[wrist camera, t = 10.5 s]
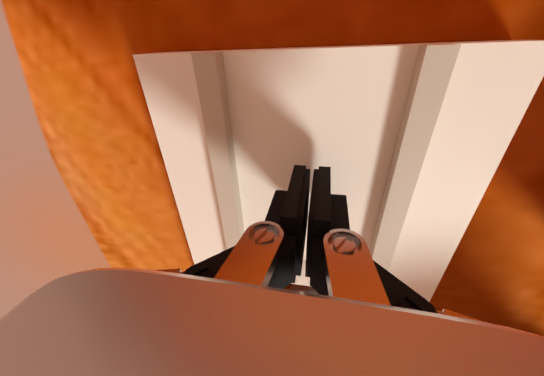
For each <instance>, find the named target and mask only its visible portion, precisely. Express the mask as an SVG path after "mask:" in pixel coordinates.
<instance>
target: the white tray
mask: <svg viewBox="0 0 544 376" xmlns="http://www.w3.org/2000/svg"><path fill="white" fill-rule="evenodd" d="M133 58H134V61H135V65H136V68H137V72H138V75H139V78H140V82H141V85H142V88H143V92H144V95H145V99H146V102H147V105H148V109H149V112H150V116H151V119H152V122H153V126H154V129H155V133H156V136H157V139H158V143H159V146H160V150H161V153H162V156H163V160H164V163H165V167H166V170H167V173H168V177H169V180H170V184H171V187H172V190H173V194H174V197H175V200H176V204H177V207H178V211H179V214H180V217H181V221H182V224H183V228H184V231H185V234H186V238H187V241H188V245H189V248H190V251H191V255H192V258H193V262H194V265H195V264H197V263H199V262H201V261H203V260H206V259H208V258H210V257H212V256H214V255H216V254H218V253H220V252H223V251H225V250H227V249H229V248H231V247H233V246H235V245H236V244H237V243H238V241H239V240H240V238H241V237H242V235H243V234H244V232H245V231H246V229H247V228H248V227H249V226H250V225H252V224H254V223H257V222H260V221H265V218H266V216H267V213H268V210H269V207H270V204H271V201H272V199H273V196H274V193H275V191H276V190H285V191H287V190H288V186H289V183H290V179H291V175H292V172H293V168H294V165H305V166H306V169H310V186H309V206H310V198H311V189H312V181H313V173H314V169H319V166H324V167H331V194H338V195H346V197H347V206H348V216H349V225H350V230H351V231H354V232H356V233H358V234H359V235H360V236H362V237H363V238H364V240H365V242H366V244H367V246H368V249H369V251H370V254H371V256H372V259H373V260H374V261H375V262H376V263H378V264H379V265H380V266H382V267H383V268H384V269H386V270H387V271H388V272H390V273H391V274H393V275H394V276H395V277H397V278H398V279H399V280H401V281H402V282H403V283H405V284H406V285H407V286H409V287H410V288H411V289H413V290H414V291H415V292H417V293H418V294H419V295H421V296H422V297H423V298H425V299H426V300H427V301H428V302H430V300H431V298H432V296H433V294H434V292H435V290H436V288H437V286H438V284H439V282H440V280H441V278H442V276H443V274H444V272H445V270H446V268H447V266H448V264H449V262H450V260H451V258H452V256H453V254H454V252H455V250H456V248H457V246H458V244H459V242H460V241H461V239H462V237H463V235H464V233H465V231H466V229H467V227H468V225H469V223H470V221H471V219H472V217H473V215H474V213H475V211H476V209H477V207H478V205H479V203H480V201H481V199H482V197H483V195H484V193H485V191H486V189H487V187H488V185H489V183H490V181H491V179H492V177H493V175H494V173H495V171H496V169H497V167H498V165H499V163H500V161H501V159H502V157H503V155H504V153H505V152H506V150H507V148H508V146H509V144H510V142H511V140H512V138H513V136H514V134H515V132H516V130H517V128H518V126H519V124H520V122H521V120H522V118H523V116H524V114H525V112H526V110H527V108H528V106H529V104H530V102H531V100H532V98H533V96H534V94H535V92H536V90H537V88H538V86H539V84H540V82H541V80H542V78H543V76H544V40H495V41H466V42H438V43H409V44H381V45H353V46H324V47H296V48H267V49H239V50H211V51H182V52H159V53H147V54H134V55H133ZM309 206H308V214H309ZM307 227H308V221H307ZM306 247H307V230H306V238H305V246H304V255H303V263H302V271H301V276H297V275H296V279H295V283H291V284H297V285H304V286H310V277H305V267H306Z"/></svg>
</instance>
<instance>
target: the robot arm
mask: <svg viewBox="0 0 544 376" xmlns="http://www.w3.org/2000/svg"><path fill="white" fill-rule="evenodd" d="M309 186H310V169H306V166H305V165H294V168H293V172H292V175H291V179H290V183H289V186H288V190H287V191H285V190H276V191H275V193H274V196H273V199H272V201H271V204H270V207H269V210H268V213H267V216H266V218H265V221H260V222H257V223H254V224H252V225H250V226H249V227H248V228H247V229H246V231H245V232H244V234H243V235H242V237H241V238H240V240H239V241H238V243H237V244H236V245H235V246H233V247H231V248H229V249H227V250H225V251H223V252H220V253H218V254H216V255H214V256H212V257H210V258H208V259H206V260H203V261H201V262H199V263H197V264H195V265H193V266H191V267H190V268H188V269H187V270H186V271H185V272H182V271H181V269H167V270H148V269H137V268H99V269H92V270H87V271H81V272H76V273H73V274H69V275H66V276H63V277H60V278H57V279H55V280H53V281H51V282H49V283H48V284H46V285H44V286H43V287H41V288H40V289H38V290H37V291H35V292H34V293H33V294H31V295H30V296H28V297H27V298H26V299H24V300H23V301H22V302H21V303H19V304H18V305H17V306H15V307H14V308H13V309H12V310H11V311H9V312H8V313H6V314H5V315H4V316H3V317H2V318H0V376H544V337H543V336H540V335H537V334H534V333H530V332H526V331H522V330H519V329H515V328H511V327H507V326H502V325H497V324H492V323H487V322H484V321H481V320H478V319H475V318H472V317H469V316H466V315H463V314H460V313H457V312H454V311H451V310H448V309H445V308H443V310H442V311H439V310H436V309H435V308H434V306H433V305H432V304H431V303H429V302H428V301H427V300H426V299H425V298H423V297H422V296H421V295H419V294H418V293H417V292H415V291H414V290H413V289H411V288H410V287H409V286H407V285H406V284H405V283H403V282H402V281H401V280H399V279H398V278H397V277H395V276H394V275H393V274H391V273H390V272H388V271H387V270H386V269H384V268H383V267H382V266H380V265H379V264H378V263H376V262H375V261H374V260H373V259H372V256H371V254H370V251H369V249H368V246H367V244H366V242H365V240H364V238H363V237H362V236H360V235H359V234H358V233H356V232H354V231H351V230H350V225H349V216H348V206H347V197H346V195H338V194H331V167H324V166H319V169H314V173H313V181H312V189H311V198H310V206H309ZM308 206H309V214H308ZM307 221H308V227H307ZM306 230H307V247H306V267H305V277H310V286H311V287H312V288H313V289H314V290H315V291H316V292H317V293H318V294H313V293H307V292H300V291H294V290H287V289H285V287H286V286H288V285H289V284H291V283H295V279H296V275H297V276H301V271H302V263H303V255H304V246H305V238H306Z"/></svg>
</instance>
